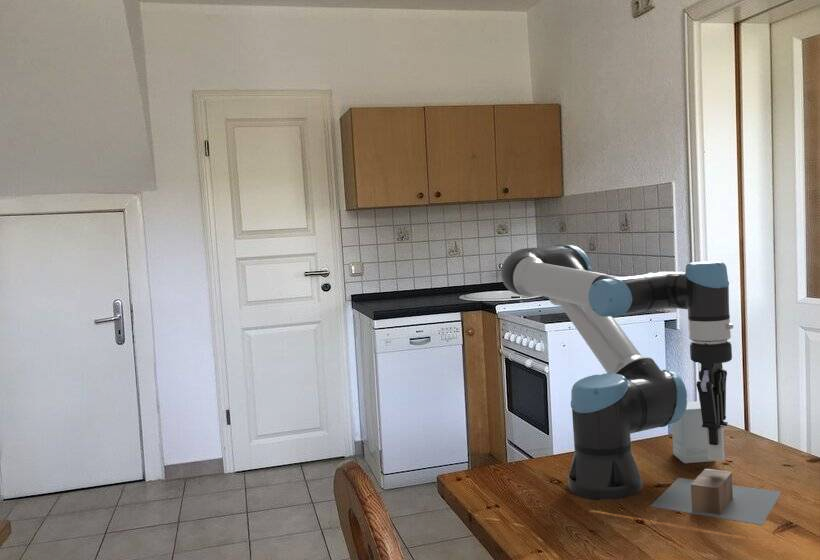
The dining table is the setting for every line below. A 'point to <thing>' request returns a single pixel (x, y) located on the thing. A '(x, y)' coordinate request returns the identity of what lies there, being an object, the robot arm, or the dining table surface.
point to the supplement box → (690, 436)
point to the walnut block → (712, 491)
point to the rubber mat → (742, 507)
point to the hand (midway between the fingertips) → (716, 459)
